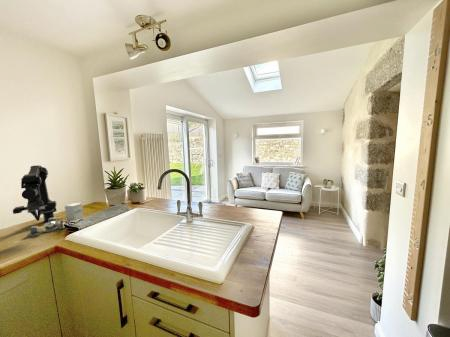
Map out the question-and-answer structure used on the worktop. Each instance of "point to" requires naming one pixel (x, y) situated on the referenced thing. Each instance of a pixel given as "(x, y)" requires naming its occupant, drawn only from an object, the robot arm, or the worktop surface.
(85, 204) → the worktop surface
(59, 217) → the knob
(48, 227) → the tribrach
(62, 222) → the knob
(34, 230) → the knob
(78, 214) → the supplement box
